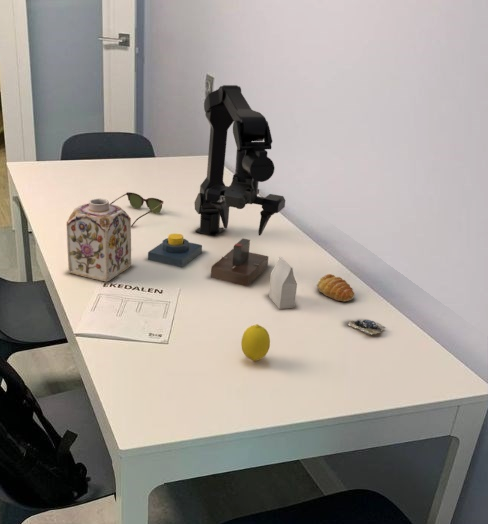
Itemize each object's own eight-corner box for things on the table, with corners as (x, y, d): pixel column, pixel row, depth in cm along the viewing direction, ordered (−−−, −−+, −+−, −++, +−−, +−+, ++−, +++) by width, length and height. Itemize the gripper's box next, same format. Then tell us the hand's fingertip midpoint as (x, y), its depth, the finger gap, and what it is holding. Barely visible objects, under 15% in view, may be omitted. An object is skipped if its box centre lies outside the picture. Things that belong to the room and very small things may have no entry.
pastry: (360, 299, 160) (362, 285, 158) (339, 305, 156) (341, 291, 155) (334, 284, 167) (336, 270, 165) (313, 290, 163) (314, 275, 162)
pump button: (172, 239, 180) (172, 232, 179) (185, 242, 178) (186, 235, 177) (165, 244, 176) (165, 237, 175) (178, 247, 175) (179, 239, 174)
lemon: (238, 353, 135) (241, 318, 131) (265, 353, 135) (268, 318, 132) (242, 368, 130) (245, 332, 126) (270, 367, 130) (274, 331, 127)
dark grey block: (241, 256, 173) (242, 237, 170) (248, 258, 172) (250, 238, 170) (232, 264, 168) (233, 244, 165) (239, 266, 167) (241, 246, 165)
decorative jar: (132, 266, 171) (132, 198, 163) (108, 283, 162) (106, 212, 154) (92, 257, 176) (90, 190, 167) (66, 273, 166) (63, 203, 158)
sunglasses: (164, 215, 208) (163, 200, 205) (135, 232, 197) (134, 216, 195) (127, 205, 214) (126, 191, 212) (97, 221, 204) (96, 206, 201)
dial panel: (231, 259, 179) (232, 248, 177) (267, 266, 175) (269, 255, 174) (210, 277, 167) (210, 266, 166) (248, 286, 164) (249, 274, 162)
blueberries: (377, 339, 142) (379, 331, 141) (342, 328, 146) (343, 321, 145) (387, 327, 147) (389, 319, 146) (353, 317, 151) (354, 309, 150)
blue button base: (169, 245, 186) (169, 231, 184) (201, 252, 182) (202, 238, 180) (147, 259, 176) (147, 245, 174) (181, 267, 172) (182, 253, 170)
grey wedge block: (279, 308, 153) (283, 268, 149) (268, 296, 159) (272, 257, 155) (294, 307, 154) (299, 267, 150) (283, 295, 160) (287, 256, 156)
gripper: (197, 171, 156) (194, 234, 163) (273, 184, 149) (266, 249, 156) (216, 161, 165) (213, 221, 172) (288, 172, 158) (282, 235, 165)
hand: (242, 231), depth 166 cm, fingers open, 9 cm apart
